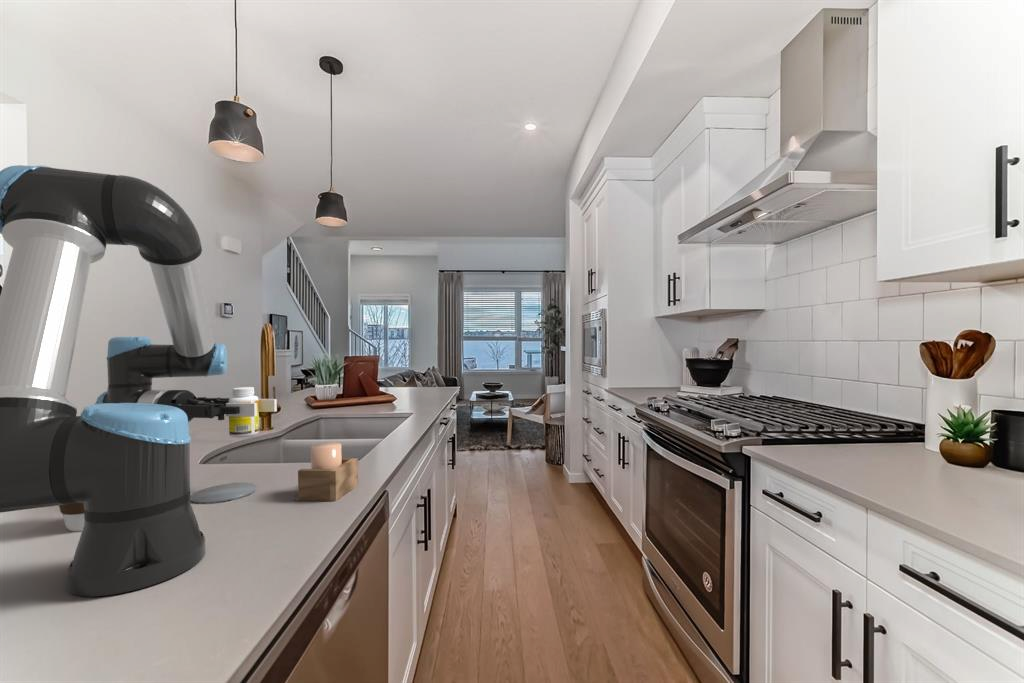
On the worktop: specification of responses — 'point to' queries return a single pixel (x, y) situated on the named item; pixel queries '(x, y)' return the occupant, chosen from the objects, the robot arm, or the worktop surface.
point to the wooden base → (327, 481)
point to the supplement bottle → (244, 424)
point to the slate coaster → (223, 492)
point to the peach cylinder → (326, 455)
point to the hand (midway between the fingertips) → (265, 407)
